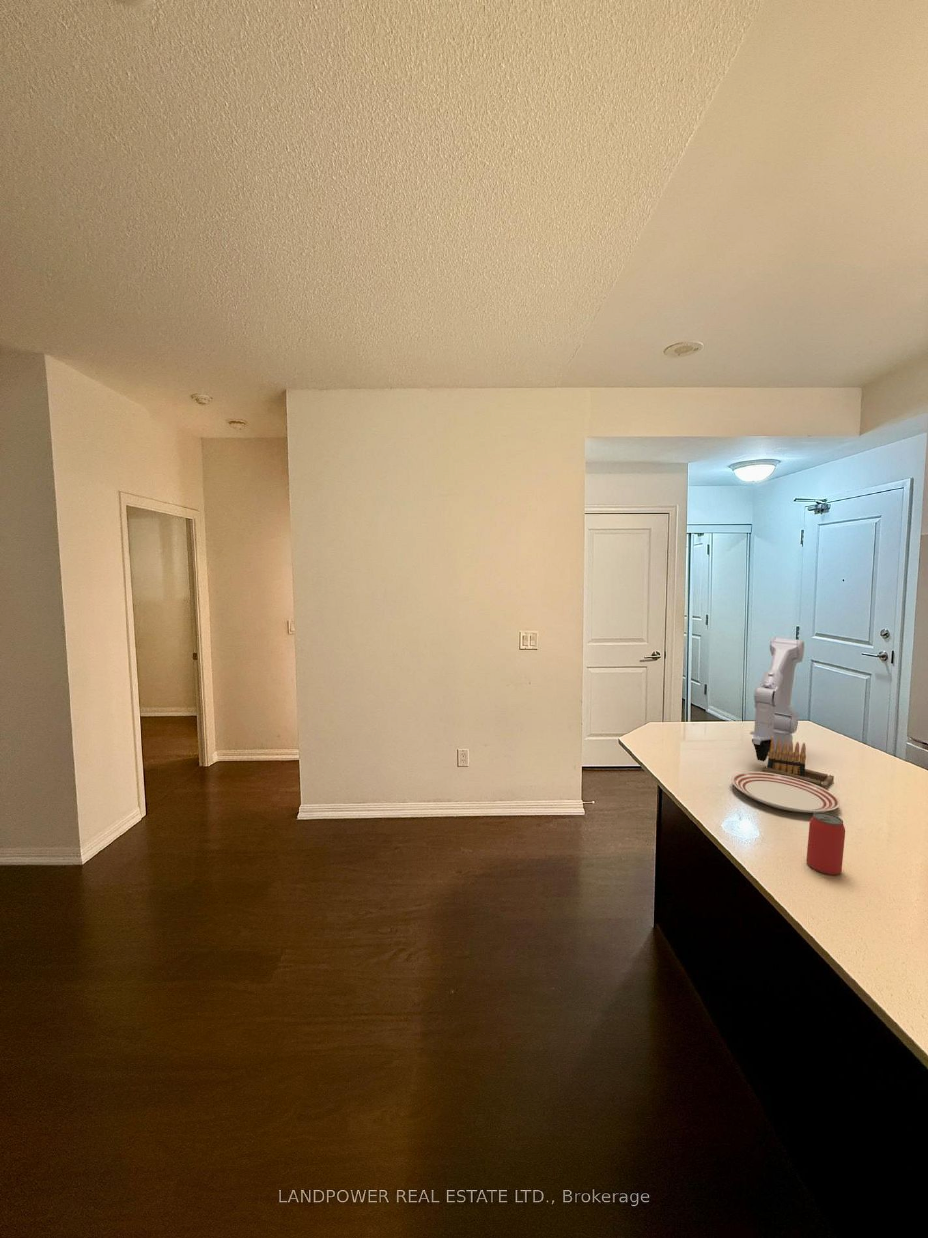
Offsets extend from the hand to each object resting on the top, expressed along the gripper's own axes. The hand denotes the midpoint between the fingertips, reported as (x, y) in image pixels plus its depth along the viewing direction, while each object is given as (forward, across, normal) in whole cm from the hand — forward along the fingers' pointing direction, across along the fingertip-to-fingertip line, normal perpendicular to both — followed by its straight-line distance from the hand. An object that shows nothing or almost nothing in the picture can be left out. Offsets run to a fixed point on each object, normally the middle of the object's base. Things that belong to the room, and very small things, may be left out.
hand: (761, 760), depth 170 cm
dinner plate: (+3, +21, +12) cm, 24 cm away
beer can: (+3, +55, +29) cm, 62 cm away
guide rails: (+3, 0, +10) cm, 10 cm away
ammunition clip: (+3, 0, +7) cm, 8 cm away
